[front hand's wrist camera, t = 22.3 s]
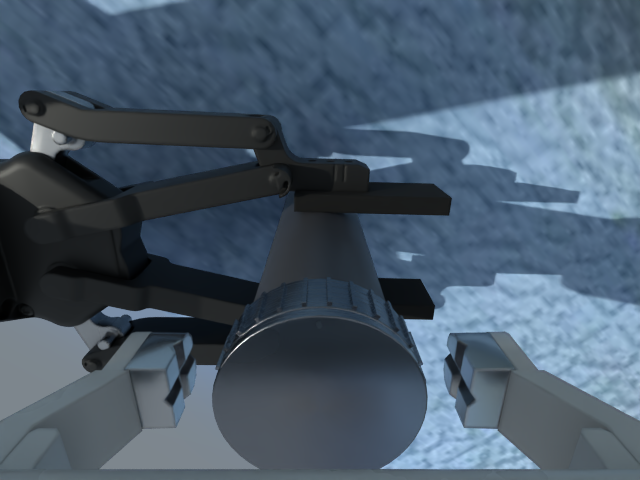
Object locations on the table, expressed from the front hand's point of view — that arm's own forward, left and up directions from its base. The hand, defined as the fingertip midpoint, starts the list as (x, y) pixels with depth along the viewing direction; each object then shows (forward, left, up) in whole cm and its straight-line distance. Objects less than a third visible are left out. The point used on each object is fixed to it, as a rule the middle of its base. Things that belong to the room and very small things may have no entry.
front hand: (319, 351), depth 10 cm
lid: (0, 0, +2) cm, 2 cm away
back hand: (-3, -4, -8) cm, 9 cm away
